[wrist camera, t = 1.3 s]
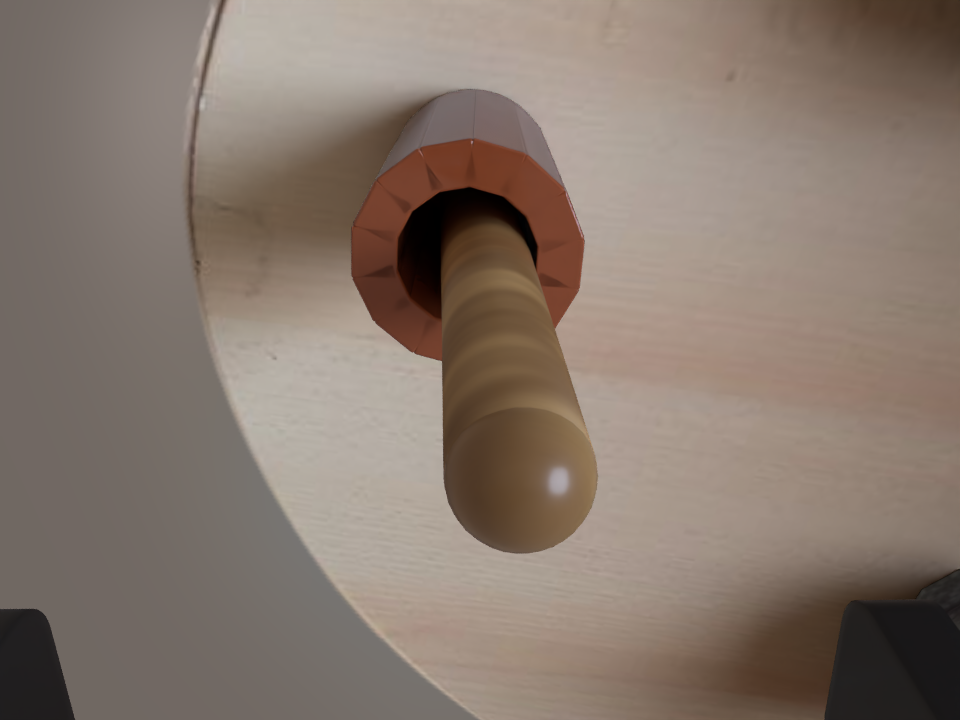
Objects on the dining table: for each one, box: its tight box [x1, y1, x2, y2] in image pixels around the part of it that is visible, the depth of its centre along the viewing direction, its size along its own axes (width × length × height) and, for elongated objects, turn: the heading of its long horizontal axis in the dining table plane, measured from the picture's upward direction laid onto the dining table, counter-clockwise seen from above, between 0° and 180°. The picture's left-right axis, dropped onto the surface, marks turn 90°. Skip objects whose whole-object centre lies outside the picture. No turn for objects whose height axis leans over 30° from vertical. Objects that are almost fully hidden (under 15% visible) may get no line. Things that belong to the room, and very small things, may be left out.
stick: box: [440, 187, 598, 553], centre depth 23 cm, size 2×2×22 cm
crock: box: [351, 89, 585, 361], centre depth 28 cm, size 6×6×12 cm
